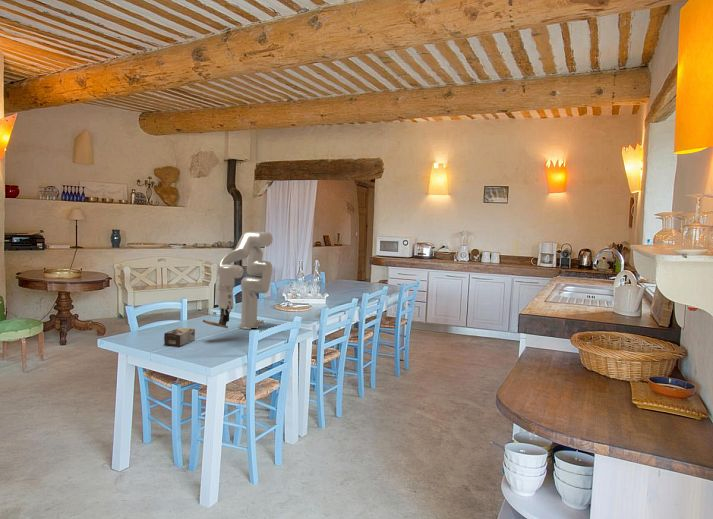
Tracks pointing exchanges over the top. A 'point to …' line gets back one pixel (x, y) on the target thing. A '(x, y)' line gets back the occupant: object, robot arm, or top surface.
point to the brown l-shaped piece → (221, 323)
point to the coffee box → (179, 336)
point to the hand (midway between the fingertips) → (224, 320)
